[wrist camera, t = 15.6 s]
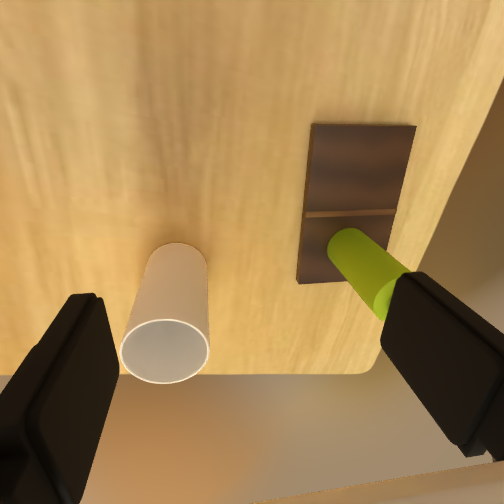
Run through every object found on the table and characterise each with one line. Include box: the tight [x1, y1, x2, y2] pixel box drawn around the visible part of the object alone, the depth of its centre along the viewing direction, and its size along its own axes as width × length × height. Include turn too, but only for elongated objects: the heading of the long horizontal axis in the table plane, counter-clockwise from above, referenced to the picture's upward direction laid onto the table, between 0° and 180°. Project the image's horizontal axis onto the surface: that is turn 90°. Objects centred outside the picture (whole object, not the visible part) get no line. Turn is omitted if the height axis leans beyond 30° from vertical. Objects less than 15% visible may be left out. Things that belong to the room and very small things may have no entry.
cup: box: [120, 243, 210, 384], centre depth 35 cm, size 8×8×16 cm
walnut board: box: [296, 124, 417, 284], centre depth 41 cm, size 22×13×2 cm, turn 179°
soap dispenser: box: [327, 228, 411, 321], centre depth 34 cm, size 6×7×20 cm
